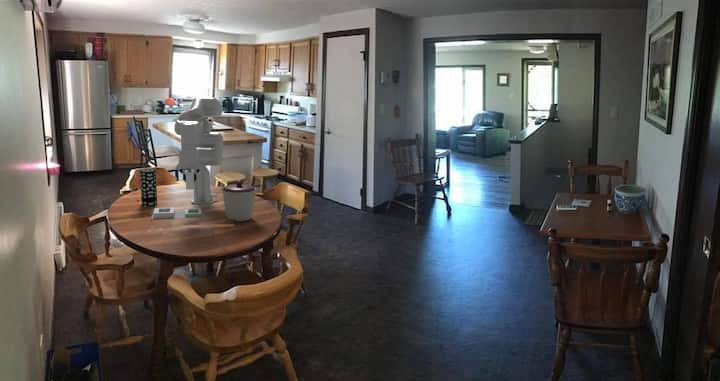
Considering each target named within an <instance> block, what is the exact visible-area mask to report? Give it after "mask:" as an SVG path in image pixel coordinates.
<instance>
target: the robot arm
mask: <svg viewBox="0 0 720 381" xmlns="http://www.w3.org/2000/svg"><path fill="white" fill-rule="evenodd" d="M222 114H223V105H222V103H221V102H220V100H219V99H217V98H216V97H212V96H197V97H195V98H194V99H193V100H192V101H191V104H190V107H189V110H186V111H184V112H182V113H181V114H179V115H178V116H177V118H176V120H175V123H174V126H173V127H174V132H175V134H176V135H178V136H180V149H179V152H178V164H177V165H176V167H175V171H178V172H179V173H181V174H182V181H184V183H186V171H187V170H188V169H192V170H194V190H193V199H191V201H190V202H191V204H193V205H198V206H199V205H210V204H212V203H215V202H214V198H218V197H219V196H218V194H217V193H214V194H213V193H211V192H212V191H211V171H210V170H209V169H208V166H209V167H218V166H220V165H222V163H223V155H224V136H223V134H222V133H221V132H217V131H216V132H212V124H211V122H210V121H209V120H208V119H207V118H206V117H208V118H209V117H212V118H213V117H215V118H219V117H221V116H222Z"/></svg>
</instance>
